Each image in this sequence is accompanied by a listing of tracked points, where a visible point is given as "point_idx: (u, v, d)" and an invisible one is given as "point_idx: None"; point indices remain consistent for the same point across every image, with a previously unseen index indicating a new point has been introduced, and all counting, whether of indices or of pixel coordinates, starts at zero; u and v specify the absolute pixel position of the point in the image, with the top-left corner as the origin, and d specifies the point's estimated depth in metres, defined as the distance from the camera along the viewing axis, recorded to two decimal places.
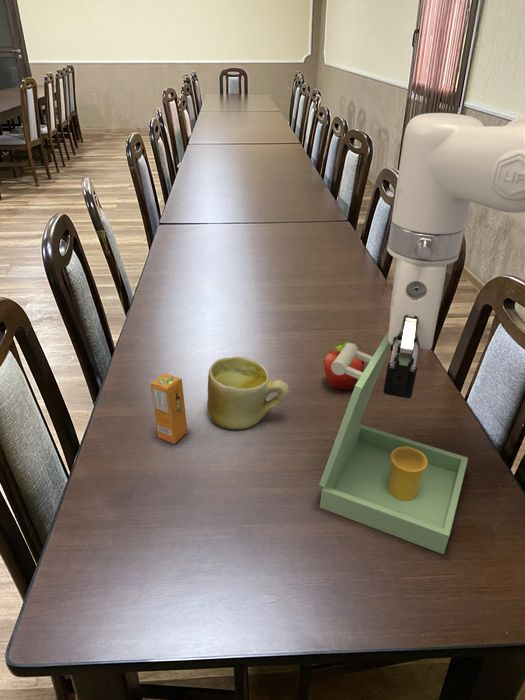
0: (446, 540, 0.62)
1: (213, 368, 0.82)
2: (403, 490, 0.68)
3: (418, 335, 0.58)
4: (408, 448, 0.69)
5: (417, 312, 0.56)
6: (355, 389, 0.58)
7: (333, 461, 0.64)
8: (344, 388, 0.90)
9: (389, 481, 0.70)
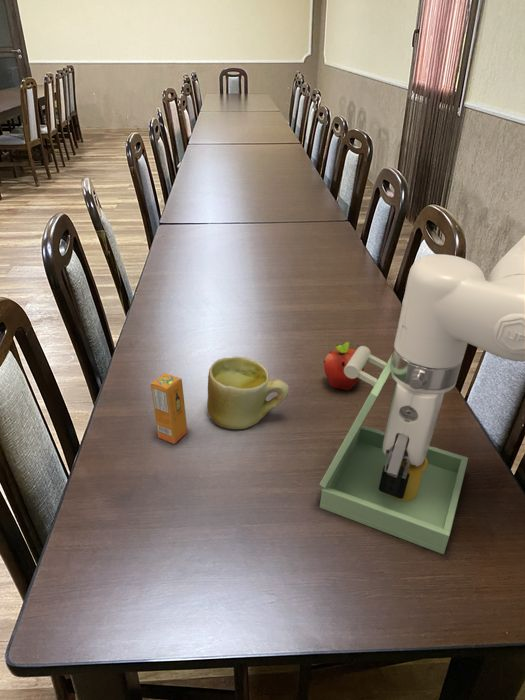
0: (446, 540, 0.62)
1: (213, 368, 0.82)
2: None
3: (408, 452, 0.61)
4: None
5: (408, 433, 0.60)
6: (370, 396, 0.57)
7: (337, 463, 0.64)
8: (344, 388, 0.90)
9: None
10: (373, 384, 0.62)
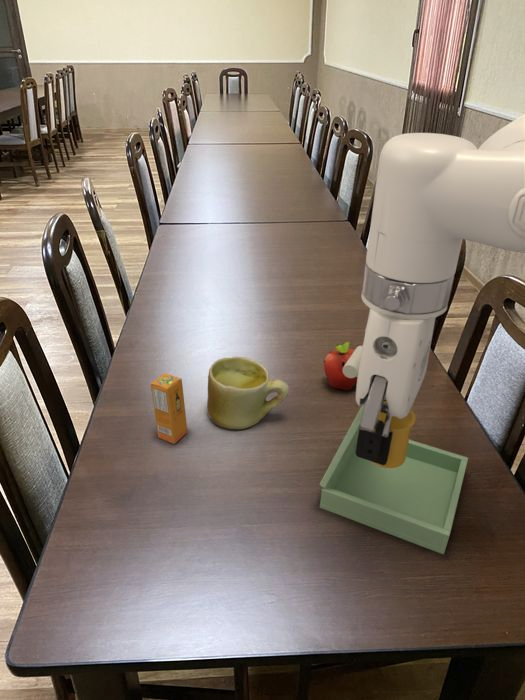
0: (446, 540, 0.62)
1: (213, 368, 0.82)
2: None
3: (388, 400, 0.47)
4: None
5: (386, 373, 0.46)
6: None
7: (337, 463, 0.64)
8: (344, 388, 0.90)
9: None
10: None
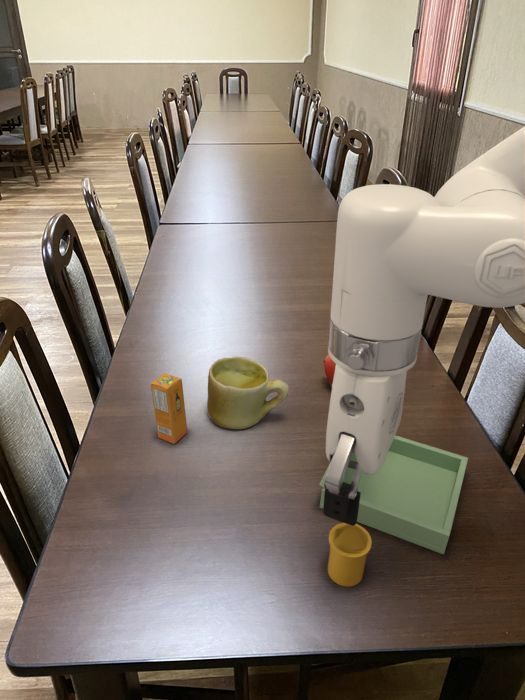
0: (446, 540, 0.62)
1: (213, 368, 0.82)
2: (343, 575, 0.58)
3: (357, 457, 0.46)
4: (351, 525, 0.60)
5: (354, 431, 0.45)
6: None
7: None
8: None
9: (329, 563, 0.60)
10: None
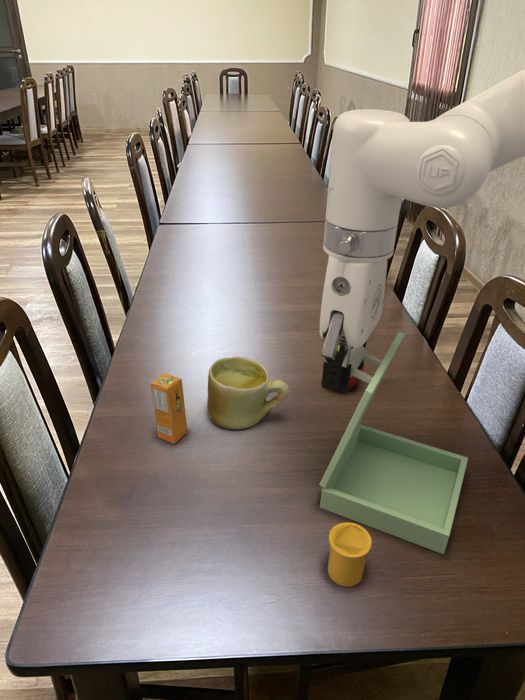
0: (446, 540, 0.62)
1: (213, 368, 0.82)
2: (343, 575, 0.58)
3: (344, 332, 0.58)
4: (351, 525, 0.60)
5: (342, 308, 0.56)
6: (365, 394, 0.57)
7: (336, 462, 0.64)
8: None
9: (329, 563, 0.60)
10: (369, 382, 0.62)
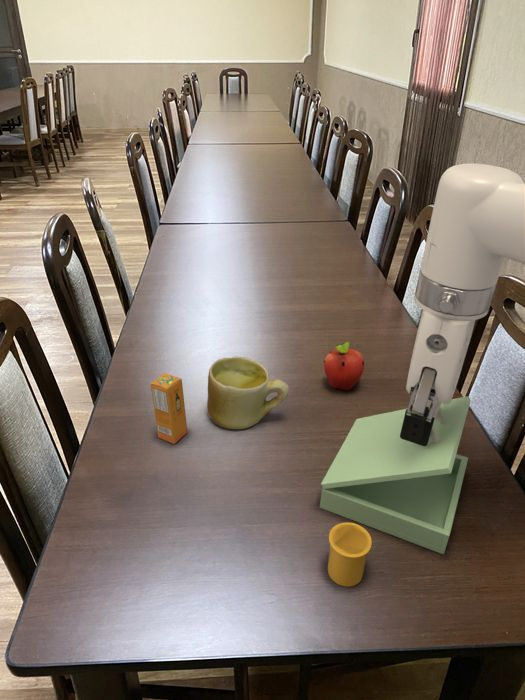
0: (446, 540, 0.62)
1: (213, 368, 0.82)
2: (343, 575, 0.58)
3: (436, 388, 0.56)
4: (351, 525, 0.60)
5: (436, 365, 0.55)
6: (444, 469, 0.57)
7: (356, 484, 0.64)
8: (344, 388, 0.90)
9: (329, 563, 0.60)
10: (434, 442, 0.62)
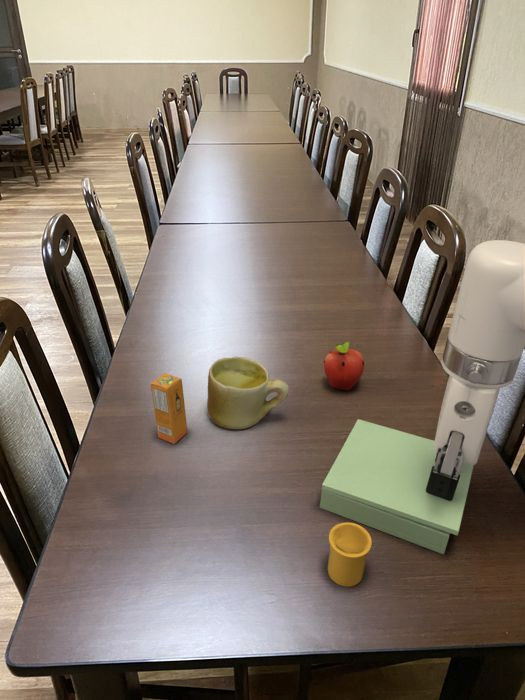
0: (446, 540, 0.62)
1: (213, 368, 0.82)
2: (343, 575, 0.58)
3: (463, 451, 0.58)
4: (351, 525, 0.60)
5: (464, 430, 0.57)
6: (454, 530, 0.61)
7: (358, 500, 0.65)
8: (344, 388, 0.90)
9: (329, 563, 0.60)
10: None
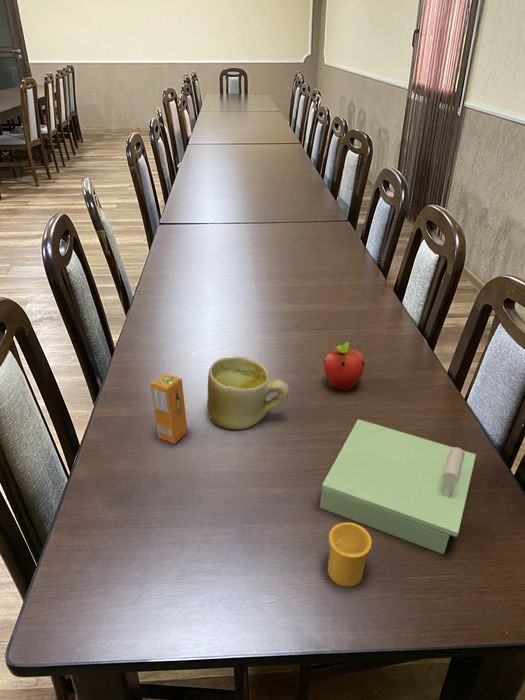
0: (446, 540, 0.62)
1: (213, 368, 0.82)
2: (343, 575, 0.58)
3: None
4: (351, 525, 0.60)
5: None
6: (453, 532, 0.61)
7: (358, 501, 0.65)
8: (344, 388, 0.90)
9: (329, 563, 0.60)
10: (444, 495, 0.65)
